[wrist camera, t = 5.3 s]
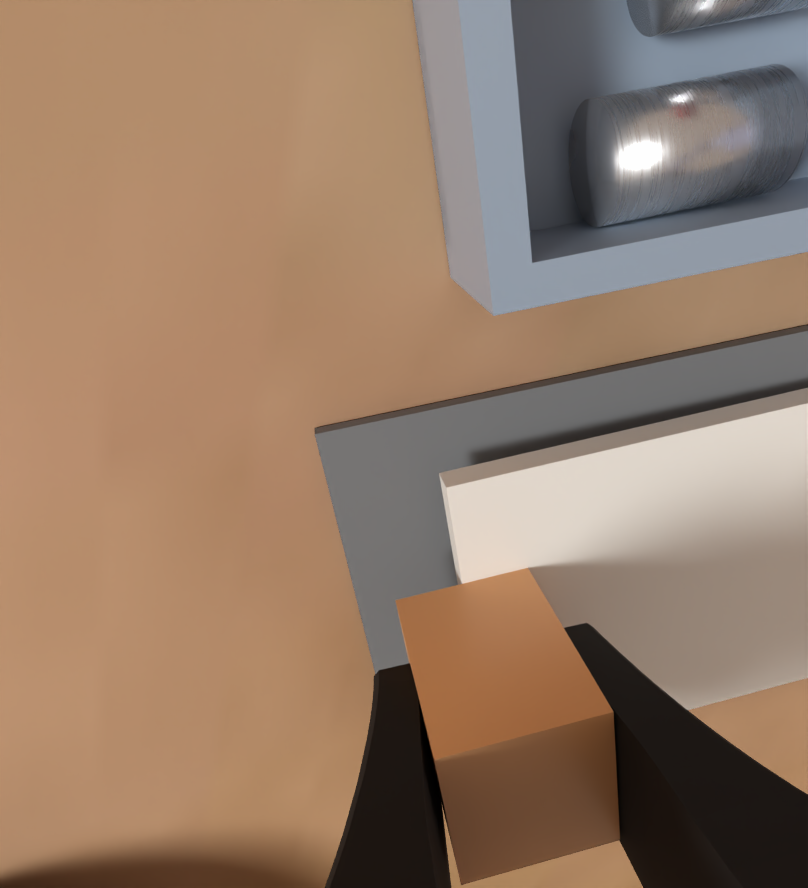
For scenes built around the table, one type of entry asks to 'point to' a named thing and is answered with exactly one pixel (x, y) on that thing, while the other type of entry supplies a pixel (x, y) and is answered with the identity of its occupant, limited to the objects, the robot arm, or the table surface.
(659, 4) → the dowel
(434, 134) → the tub
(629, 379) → the mat
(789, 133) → the dowel
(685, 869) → the robot arm
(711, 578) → the lid
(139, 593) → the table surface
